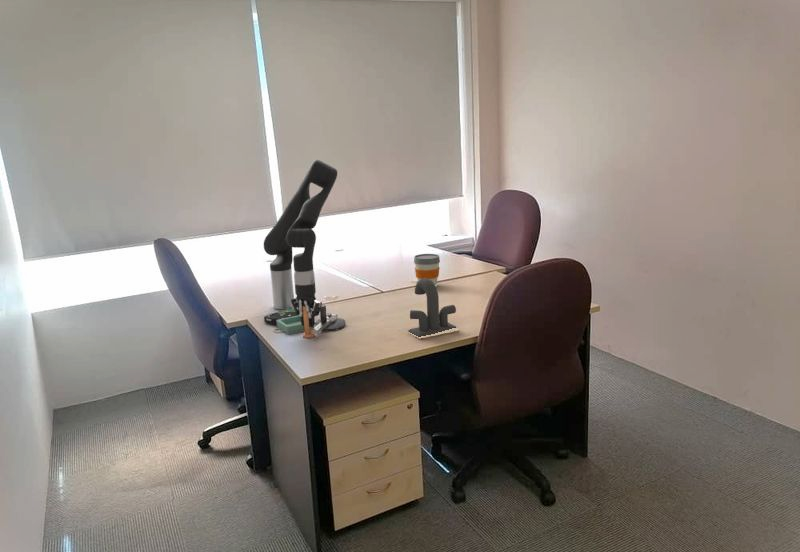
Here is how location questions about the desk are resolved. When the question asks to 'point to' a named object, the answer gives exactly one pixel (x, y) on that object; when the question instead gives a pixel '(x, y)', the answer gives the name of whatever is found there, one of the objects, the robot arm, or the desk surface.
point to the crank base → (333, 325)
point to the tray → (291, 324)
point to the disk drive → (280, 316)
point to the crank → (324, 320)
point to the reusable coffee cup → (427, 267)
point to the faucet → (431, 311)
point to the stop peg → (307, 325)
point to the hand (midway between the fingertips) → (308, 325)
